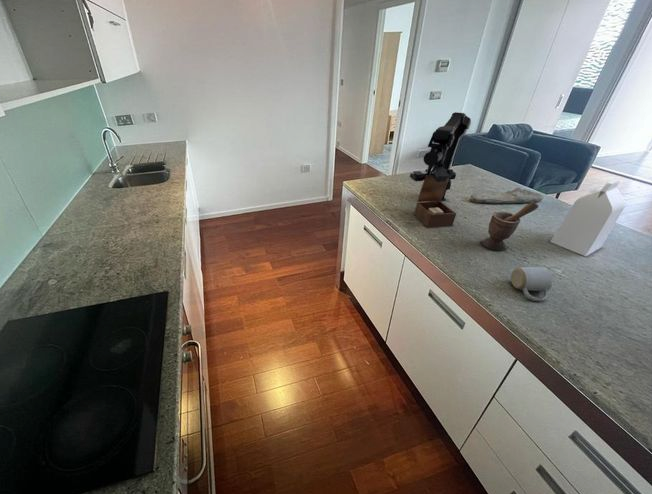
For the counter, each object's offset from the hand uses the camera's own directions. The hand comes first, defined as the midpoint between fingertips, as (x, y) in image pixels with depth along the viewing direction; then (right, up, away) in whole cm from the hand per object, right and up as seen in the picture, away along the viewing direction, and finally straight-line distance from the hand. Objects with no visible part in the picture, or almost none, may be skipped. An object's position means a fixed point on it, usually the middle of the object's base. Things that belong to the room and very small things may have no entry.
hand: (428, 192), depth 137 cm
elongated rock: (+46, -2, +13) cm, 47 cm away
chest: (+1, -13, -2) cm, 13 cm away
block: (+1, -12, -2) cm, 13 cm away
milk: (+48, -24, -21) cm, 57 cm away
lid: (0, +1, -5) cm, 5 cm away
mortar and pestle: (+17, -25, -21) cm, 37 cm away
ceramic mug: (+12, -39, -42) cm, 59 cm away
